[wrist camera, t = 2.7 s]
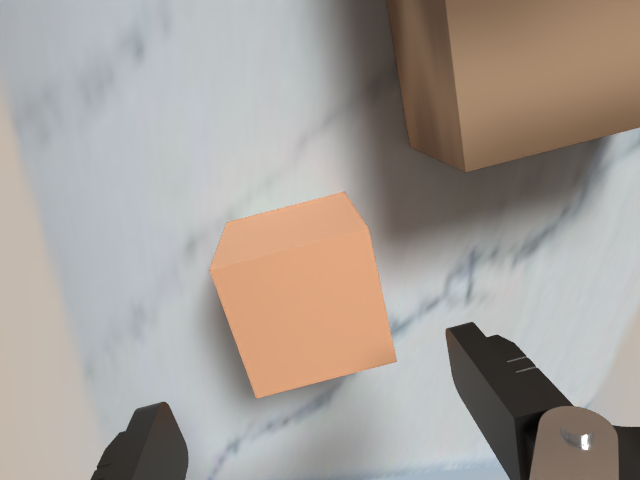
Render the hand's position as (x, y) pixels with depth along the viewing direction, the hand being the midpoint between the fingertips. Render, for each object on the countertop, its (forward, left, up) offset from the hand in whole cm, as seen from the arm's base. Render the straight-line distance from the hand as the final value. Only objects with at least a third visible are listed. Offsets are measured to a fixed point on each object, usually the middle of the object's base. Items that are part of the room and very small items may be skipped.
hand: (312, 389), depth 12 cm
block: (0, 0, -9) cm, 9 cm away
